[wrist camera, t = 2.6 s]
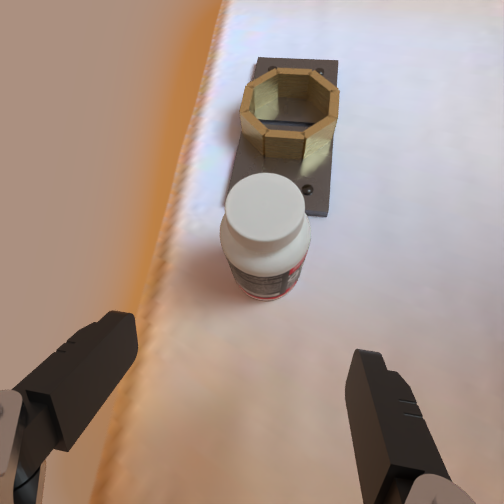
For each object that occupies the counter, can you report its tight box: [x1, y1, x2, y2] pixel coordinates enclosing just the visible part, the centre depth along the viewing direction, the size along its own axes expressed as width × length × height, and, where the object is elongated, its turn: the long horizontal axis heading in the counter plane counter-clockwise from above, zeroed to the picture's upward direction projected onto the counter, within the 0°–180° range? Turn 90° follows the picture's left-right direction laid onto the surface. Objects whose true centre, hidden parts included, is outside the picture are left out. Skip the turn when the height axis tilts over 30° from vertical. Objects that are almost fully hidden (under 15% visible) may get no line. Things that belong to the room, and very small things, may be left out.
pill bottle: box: [220, 173, 311, 301], centre depth 18 cm, size 5×5×10 cm
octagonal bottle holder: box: [227, 57, 340, 217], centre depth 26 cm, size 19×9×3 cm, turn 171°
